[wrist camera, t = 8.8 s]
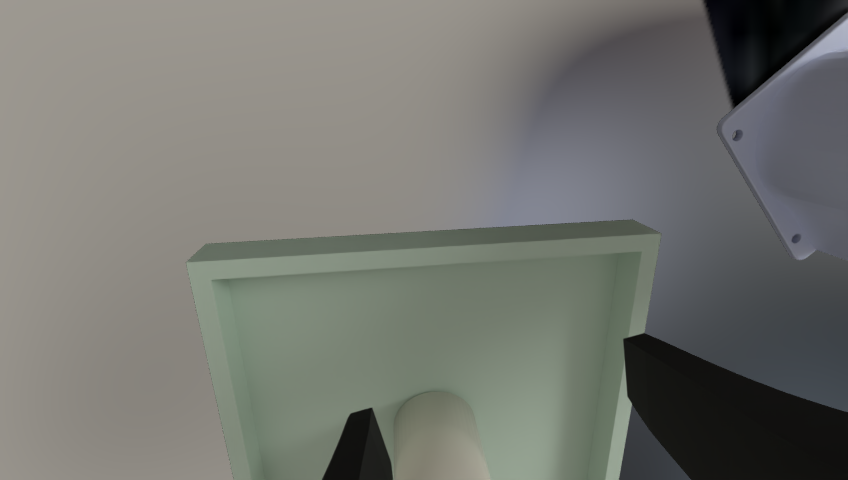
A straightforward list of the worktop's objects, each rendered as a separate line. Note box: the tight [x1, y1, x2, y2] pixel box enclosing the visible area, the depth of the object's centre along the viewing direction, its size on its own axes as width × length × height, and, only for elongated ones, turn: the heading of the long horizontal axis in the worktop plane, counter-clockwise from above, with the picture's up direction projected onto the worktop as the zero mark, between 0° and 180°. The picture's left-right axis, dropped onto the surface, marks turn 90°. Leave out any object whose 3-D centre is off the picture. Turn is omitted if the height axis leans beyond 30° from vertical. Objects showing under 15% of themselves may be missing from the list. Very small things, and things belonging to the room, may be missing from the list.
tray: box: [186, 220, 661, 480], centre depth 22 cm, size 22×20×2 cm
